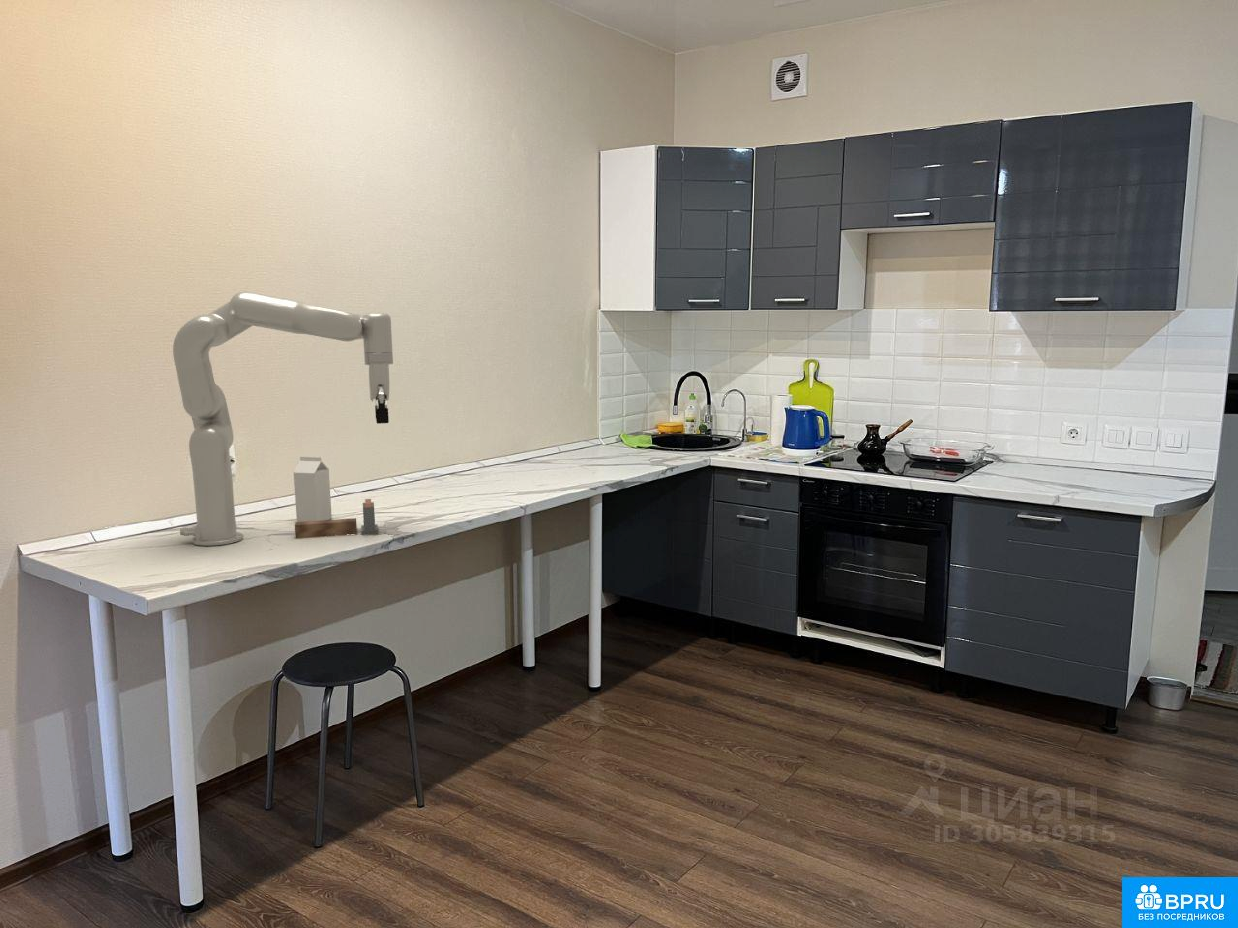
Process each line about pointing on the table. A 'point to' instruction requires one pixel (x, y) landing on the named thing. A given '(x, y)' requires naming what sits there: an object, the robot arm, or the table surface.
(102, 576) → the table surface
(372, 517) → the ridge stand
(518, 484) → the table surface
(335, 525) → the walnut rod
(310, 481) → the milk carton
